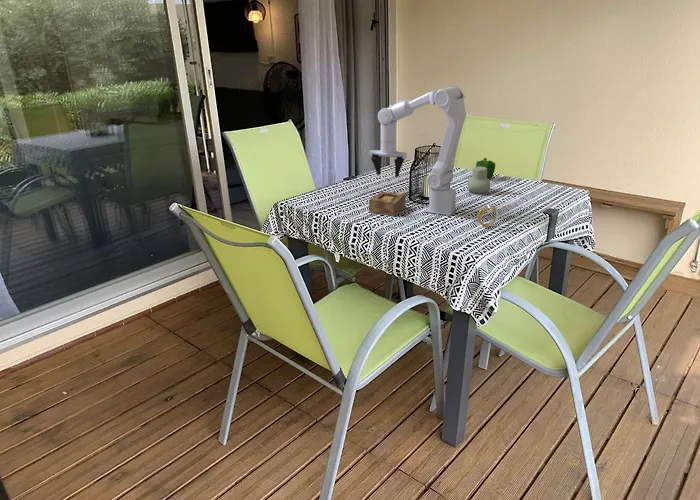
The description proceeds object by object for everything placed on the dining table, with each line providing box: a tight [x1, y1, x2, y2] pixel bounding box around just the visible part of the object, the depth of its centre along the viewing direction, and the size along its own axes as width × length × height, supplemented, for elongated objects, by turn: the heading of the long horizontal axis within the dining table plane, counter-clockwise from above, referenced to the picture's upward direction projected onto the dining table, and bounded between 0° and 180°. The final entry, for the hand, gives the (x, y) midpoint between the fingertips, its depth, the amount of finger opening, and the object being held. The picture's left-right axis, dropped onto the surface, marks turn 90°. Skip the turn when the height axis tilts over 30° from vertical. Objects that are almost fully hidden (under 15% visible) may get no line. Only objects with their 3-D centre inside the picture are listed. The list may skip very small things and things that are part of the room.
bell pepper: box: [475, 157, 496, 180], centre depth 229 cm, size 8×8×10 cm
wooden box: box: [368, 191, 407, 217], centre depth 192 cm, size 10×12×5 cm
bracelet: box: [477, 203, 499, 228], centre depth 173 cm, size 7×3×8 cm, turn 99°
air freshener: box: [467, 166, 491, 194], centre depth 210 cm, size 11×8×10 cm
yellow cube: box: [381, 196, 395, 200], centre depth 192 cm, size 4×5×4 cm
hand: (387, 175), depth 199 cm, fingers open, 7 cm apart
